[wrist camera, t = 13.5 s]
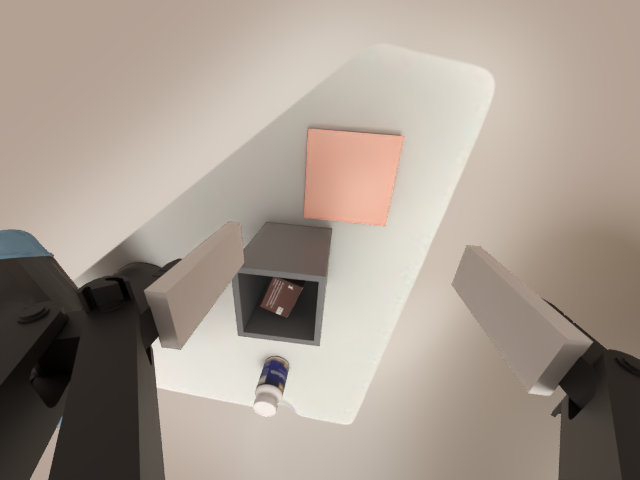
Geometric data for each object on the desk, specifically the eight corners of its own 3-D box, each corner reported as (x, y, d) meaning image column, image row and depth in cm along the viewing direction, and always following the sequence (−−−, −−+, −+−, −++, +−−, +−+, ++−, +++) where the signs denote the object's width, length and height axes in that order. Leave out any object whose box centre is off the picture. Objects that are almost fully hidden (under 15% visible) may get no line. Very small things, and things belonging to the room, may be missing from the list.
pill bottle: (294, 364, 54) (284, 411, 45) (279, 375, 57) (267, 421, 48) (274, 351, 53) (260, 397, 44) (260, 363, 55) (244, 408, 46)
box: (292, 235, 40) (273, 274, 29) (316, 246, 41) (306, 289, 30) (280, 262, 43) (258, 307, 32) (302, 272, 43) (289, 320, 32)
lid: (306, 213, 39) (303, 217, 37) (310, 128, 33) (308, 128, 31) (383, 221, 38) (385, 226, 36) (400, 135, 32) (404, 136, 30)
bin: (268, 276, 44) (238, 335, 32) (266, 222, 40) (230, 266, 27) (326, 283, 44) (319, 346, 31) (332, 228, 39) (326, 276, 26)
